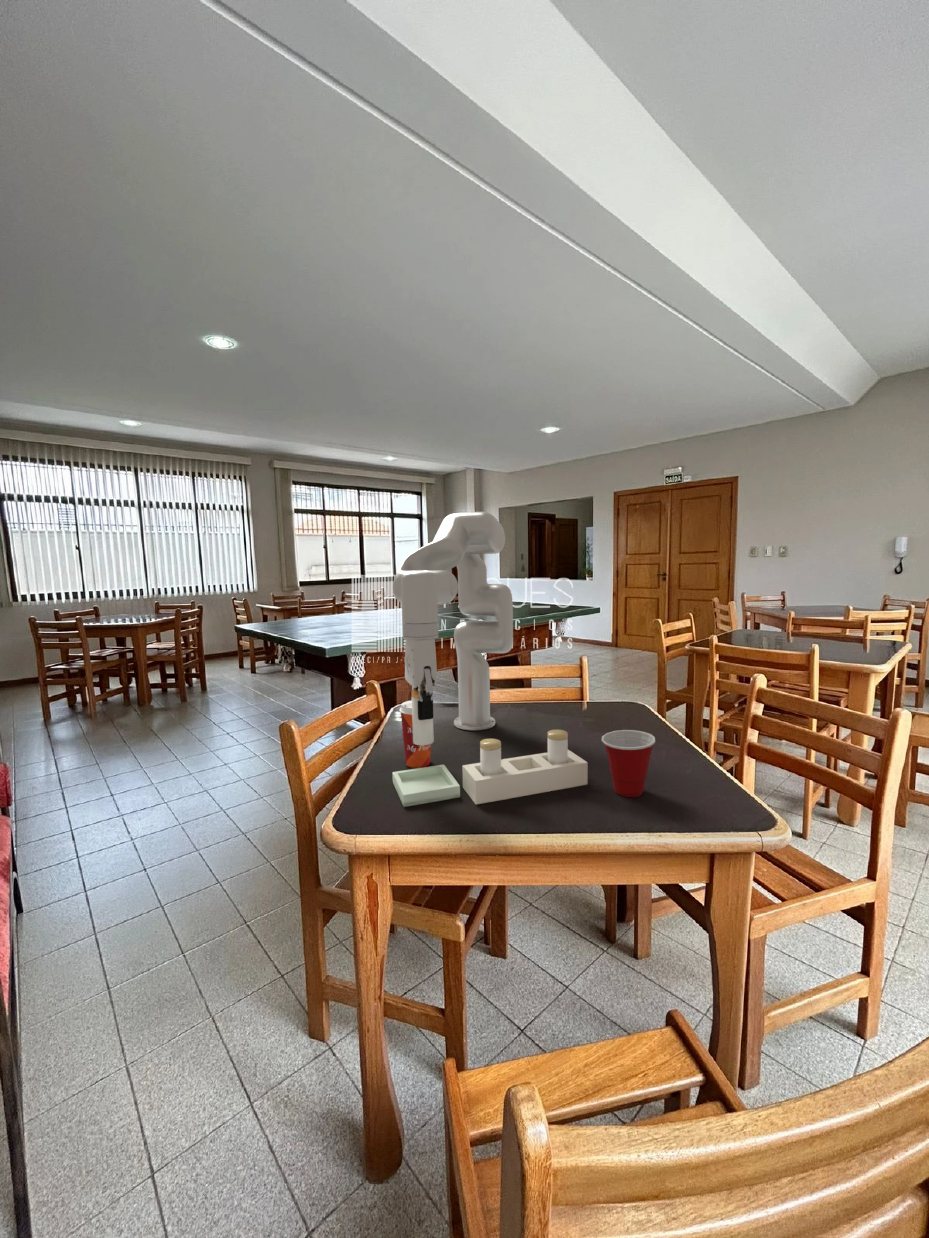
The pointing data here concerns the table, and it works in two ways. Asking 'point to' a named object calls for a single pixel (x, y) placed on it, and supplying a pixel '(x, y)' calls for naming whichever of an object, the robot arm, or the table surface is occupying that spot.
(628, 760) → the plastic cup
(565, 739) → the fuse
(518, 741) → the table surface
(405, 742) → the coffee cup
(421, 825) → the table surface
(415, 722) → the white and orange cylinder
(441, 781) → the tray
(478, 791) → the holder
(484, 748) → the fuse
